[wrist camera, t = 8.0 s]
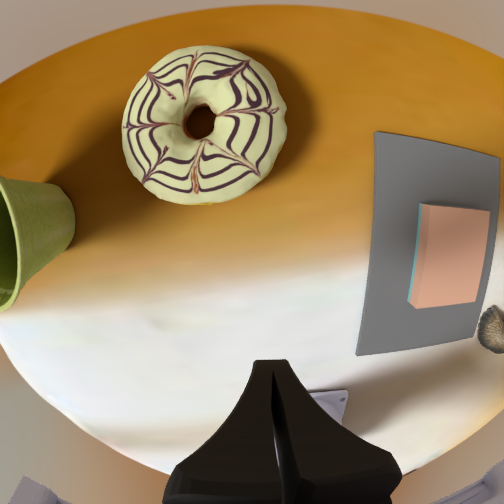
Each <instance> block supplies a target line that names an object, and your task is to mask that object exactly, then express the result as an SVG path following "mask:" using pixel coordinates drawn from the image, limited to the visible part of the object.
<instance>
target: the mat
mask: <svg viewBox="0 0 504 504" xmlns="http://www.w3.org/2000/svg"><path fill="white" fill-rule="evenodd" d="M374 145H375V175H374V207H373V224H372V238H371V250H370V260H369V270H368V278H367V286H366V294H365V301H364V308H363V314H362V321H361V327H360V332H359V338H358V343H357V349H356V356H363V355H372V354H381V353H388V352H395V351H402V350H409V349H415V348H421V347H427V346H433V345H438V344H443V343H448V342H453V341H458V340H462V339H467V338H471V337H473V336H474V333H475V329H476V326H477V323H478V319H479V316H480V312H481V309H482V305H483V301H484V297H485V293H486V289H487V284H488V280H489V275H490V270H491V265H492V259H493V253H494V246H495V239H496V232H497V223H498V212H499V197H500V158H497V157H493V156H490V155H487V154H483V153H480V152H476V151H472V150H468V149H464V148H460V147H456V146H452V145H448V144H443V143H439V142H434V141H429V140H424V139H419V138H413V137H408V136H402V135H395V134H389V133H382V132H374ZM419 203H425V204H436V205H447V206H457V207H466V208H475V209H481V210H485V211H490V218H489V228H488V236H487V244H486V250H485V257H484V263H483V268H482V273H481V278H480V283H479V288H478V292H477V296H476V300H475V302H469V303H461V304H454V305H446V306H437V307H428V308H419V309H416V308H415V307H414V306H413V305H411V304H410V303H409V302H408V301H407V300H408V294H409V289H410V283H411V277H412V270H413V263H414V256H415V248H416V239H417V229H418V217H419Z"/></svg>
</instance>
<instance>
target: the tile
mask: <svg viewBox="0 0 504 504" xmlns="http://www.w3.org/2000/svg"><path fill="white" fill-rule="evenodd" d="M489 218H490V211H485V210H481V209H475V208H466V207H457V206H447V205H436V204H425V203H419V217H418V229H417V239H416V248H415V256H414V263H413V270H412V277H411V283H410V289H409V294H408V300H407V301H408V302H409V303H410V304H411V305H413V306H414V307H415V308H416V309H419V308H428V307H437V306H446V305H454V304H461V303H469V302H475V300H476V296H477V292H478V288H479V283H480V278H481V273H482V268H483V263H484V257H485V250H486V244H487V236H488V228H489Z"/></svg>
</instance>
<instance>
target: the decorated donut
mask: <svg viewBox="0 0 504 504" xmlns="http://www.w3.org/2000/svg"><path fill="white" fill-rule="evenodd" d="M202 106H209V107H210V108H211V110H212V112H214V113H215V114H217V116H216V119H215V123H214V130H213V132H212V133H211V134H210V135H209V136H207V137H205V138H202V139H196V138H193V137H192V135H190V134H189V132H188V130H187V127H186V121H187V120H188V118H189V116H190V114H191V113H192V112H193V111H194V110H195V109H198V108H200V107H202ZM286 110H287V107H286V104H285V102H284V101H283V99H282V97H281V95H280V94H279V91H278V87H277V85H276V82H275V79H274V78H273V77H272V75H271V74H270V72H269V71H268V70H267V69H266V68H265V67H264V66H263V65H262V64H260V63H258V62H257V61H255V60H254V59H252V58H251V57H249V56H247V55H245V54H243V53H241V52H239V51H236V50H232V49H228V48H224V47H217V46H210V45H208V46H193V47H188V48H183V49H178V50H176V51H174V52H172V53H170V54H168V55H167V56H165V57H164V58H162V59H161V60H160V61H159V62H158V63H156V64H155V65H154V66H153V67H152V68H151V69H150V70H149V71H148V72H147V73H146V74H145V76H144V77H142V79H141V80H140V81H139V82H138V83H137V85H136V86H135V88H134V90H133V91H132V93H131V96H130V98H129V100H128V102H127V105H126V108H125V111H124V115H123V121H122V146H123V152H124V155H125V157H126V162H127V165H128V167H129V169H130V170H131V172H132V174H133V175H134V176H135V177H136V178H137V179H138V180H139V181H140V182H141V183H142V184H143V186H144V187H145V188H146V189H148V190H149V191H150V192H152V193H153V194H155V195H156V196H157V197H158V198H160V199H163V200H166V201H169V202H174V203H177V204H184V205H211V204H214V203H218V202H224V201H228V200H232V199H235V198H238V197H240V196H242V195H243V194H245V193H246V192H247V191H248V190H250V189H251V188H252V187H254V186H255V185H256V184H257V183H259V182H260V181H261V180H263V179H264V178H265V177H266V176H267V175H268V174H269V172H270V171H271V169H272V168H273V165H274V162H275V160H276V157H277V155H278V153H279V152H280V150H281V149H282V147H283V143H284V142H285V140H286V135H287V127H286V124H285V121H284V120H285V112H286Z"/></svg>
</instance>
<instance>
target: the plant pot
mask: <svg viewBox="0 0 504 504" xmlns="http://www.w3.org/2000/svg"><path fill="white" fill-rule="evenodd" d="M74 232H75V213H74V209H73V205H72V203H71V200H70V199H69V198H68V197H67V196H66V194H65V193H64V192H63V191H62V189H61V188H60V187H59V186H57V185H54V184H48V183H38V182H30V181H22V180H13V179H6V178H5V177H2V176H0V312H3V311H5V310H7V309H8V308H9V307H11V306H12V305H13V304H14V302H15V301H16V299H17V297H18V295H19V293H20V290H21V289H22V288H23V287H24V285H25V283H26V281H28V280H29V279H30V278H31V277H32V276H33V275H35V274H36V273H37V272H38V271H39V270H41V269H42V268H43V267H44V266H46V265H47V264H48V263H49V262H51V261H52V260H53V259H54V258H56V257H57V256H58V255H60V254H61V253H62V252H64V251H65V250H66V248H67V247H68V245H69V244H70V242H71V240H72V239H73V236H74Z"/></svg>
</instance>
